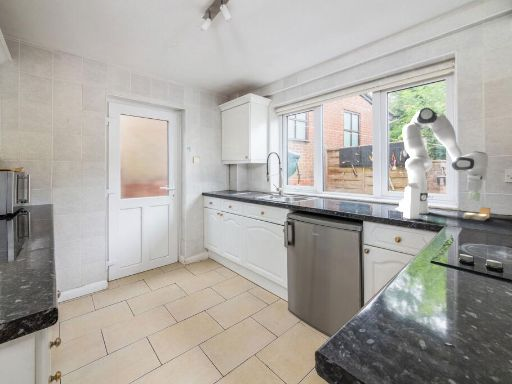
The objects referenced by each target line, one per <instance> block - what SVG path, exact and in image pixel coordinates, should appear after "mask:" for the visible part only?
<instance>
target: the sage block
mask: <svg viewBox="0 0 512 384" xmlns="http://www.w3.org/2000/svg"><path fill="white" fill-rule="evenodd" d="M480 198H481V192H478V193H475V198H471V191H468V195H467V201H475V202H478V201H479V202H480Z"/></svg>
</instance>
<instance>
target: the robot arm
mask: <svg viewBox="0 0 512 384" xmlns="http://www.w3.org/2000/svg"><path fill="white" fill-rule="evenodd" d="M425 127H428V128H430V130H431V131H432V133H433V135H434V137H435V138H436V140H437V141H438V142H439V143H440V144H441V145H443V147H444V148H445V149H446V150H447V152H448V154H449V156H450V158H451V160H452V161H451V167H452V169H453V170H454V171H456V172H465V171H468V172H467V177H466V180H467V192H471V198H475V193H479V191H482V189H483V181H486V180H487V179H486V178H487V167H488V166H489V165H488V164H489V154H487V153H486V152H483V151H476V150H475V151H472V152H471V153H468V154H465V155H463V153H462V151H461V149H460V148H459V145H458V143H457V135H456V131H455V128H454V126H453V125H452V123H451V121H450V120H449V119H448V117H447V116H446V115H445V114H442V113H441V114H438V113H437V112H435V111H434V110H433V109H432V108H430V107H423V108H422V109H419V110H418V111H417V112H416V113H415V114H414V115H413V117H412V118H411V119H410V122H409V123H408V124H405V125H404V126H403V127H402V139H403V143H404V147H405V150H406V153H407V155H408V156H409V158H408V159H407V160H406V161H405V163H404V166H405V167H404V168H405V170H406V173H407V177H408V183H417V186H418V187H420V206H419V215H420V214H421V215H422V214H425V215H426V214H429V213H430V210H429V201H428V198H429V197H428V196H429V195H428V194H429V193H428V183H429V182H428V179H427V176H426V173H427V172H429V171H430V170H432V169H433V166H434V164H433V161H432V160H431V158H430V156H429V153H428V151H427V150H426V147H425V144H424V140H423V136H422V133H421V132H422V131H421V130H424V128H425ZM395 210H396V211H398V212H401V213H404V198H403V199H402V200H400V201H399V204H398V207H396V208H395Z"/></svg>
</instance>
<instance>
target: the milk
mask: <svg viewBox="0 0 512 384" xmlns="http://www.w3.org/2000/svg"><path fill="white" fill-rule="evenodd" d="M403 195H404V197H403V199H404V212H403V216H402V217H403V218H404V217H405V219H408V220H419V219H420V213H419V206H420V187H418V186H417V183H409V182H408V183H407V186H405V187H404V194H403Z"/></svg>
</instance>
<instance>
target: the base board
mask: <svg viewBox="0 0 512 384" xmlns="http://www.w3.org/2000/svg"><path fill="white" fill-rule="evenodd" d="M487 217H488V215H486V214H479V213H474V212H464V213H463V214H462V219H468V220H474V221H486V220H487V219H488V218H487Z"/></svg>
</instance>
